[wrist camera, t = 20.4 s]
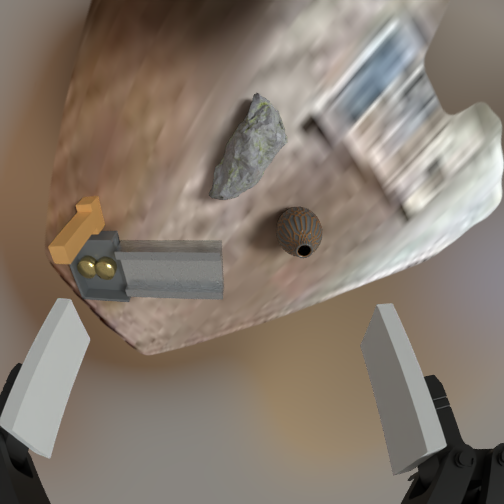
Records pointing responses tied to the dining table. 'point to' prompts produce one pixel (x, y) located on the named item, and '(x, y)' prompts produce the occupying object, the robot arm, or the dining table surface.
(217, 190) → the mineral specimen
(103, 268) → the gold domed disc
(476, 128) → the dining table surface
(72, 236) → the orange l-shaped bar
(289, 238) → the vase
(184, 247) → the slot rail
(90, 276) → the gold domed disc
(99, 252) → the tray
